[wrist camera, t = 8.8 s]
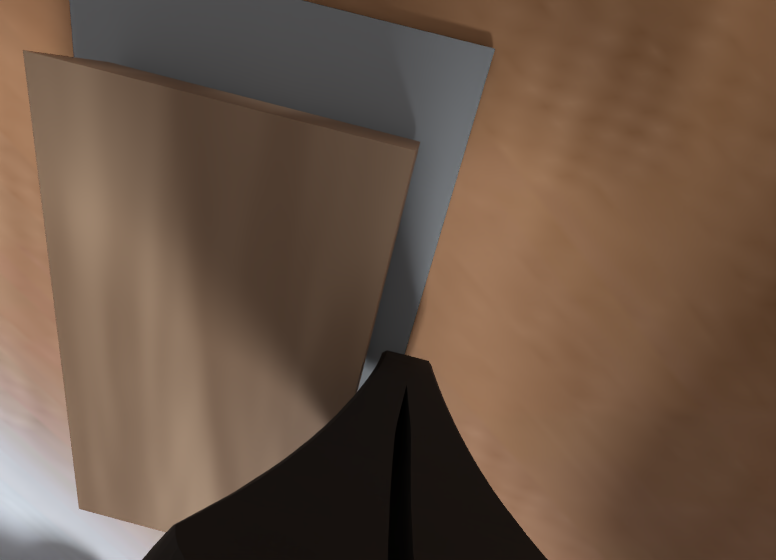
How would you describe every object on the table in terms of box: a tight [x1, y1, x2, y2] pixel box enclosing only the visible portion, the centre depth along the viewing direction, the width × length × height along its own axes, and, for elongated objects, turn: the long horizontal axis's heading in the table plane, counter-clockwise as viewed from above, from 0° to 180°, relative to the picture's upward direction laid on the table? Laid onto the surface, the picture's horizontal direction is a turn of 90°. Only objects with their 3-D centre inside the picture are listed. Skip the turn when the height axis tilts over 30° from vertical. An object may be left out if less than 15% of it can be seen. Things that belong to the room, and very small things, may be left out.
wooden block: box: [23, 50, 420, 532], centre depth 10 cm, size 2×12×7 cm
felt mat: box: [69, 0, 495, 390], centre depth 12 cm, size 9×16×1 cm, turn 167°
